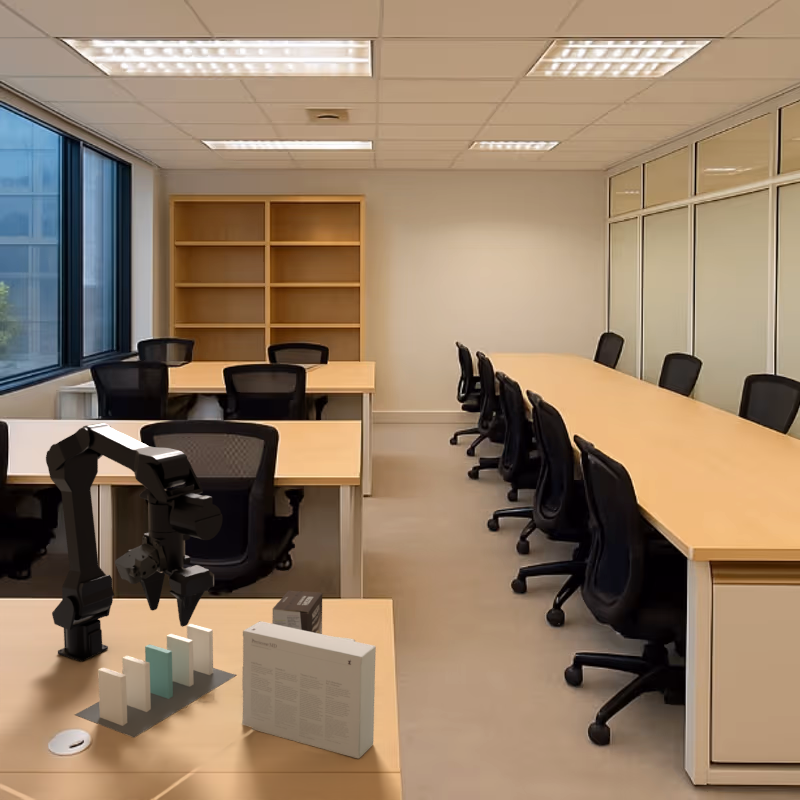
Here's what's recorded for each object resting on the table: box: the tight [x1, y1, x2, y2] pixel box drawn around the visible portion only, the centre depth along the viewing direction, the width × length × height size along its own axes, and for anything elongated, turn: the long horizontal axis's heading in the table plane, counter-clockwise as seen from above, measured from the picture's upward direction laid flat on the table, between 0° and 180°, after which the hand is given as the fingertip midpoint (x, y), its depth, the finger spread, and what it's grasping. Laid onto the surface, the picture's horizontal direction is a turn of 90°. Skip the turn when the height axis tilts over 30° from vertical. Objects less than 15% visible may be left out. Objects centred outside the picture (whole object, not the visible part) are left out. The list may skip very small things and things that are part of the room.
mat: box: [74, 667, 237, 738], centre depth 149 cm, size 13×24×1 cm, turn 151°
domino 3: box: [166, 633, 194, 687], centre depth 152 cm, size 5×1×8 cm, turn 61°
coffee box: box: [271, 590, 323, 634], centre depth 150 cm, size 9×6×16 cm
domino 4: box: [186, 623, 214, 675], centre depth 156 cm, size 5×1×8 cm, turn 61°
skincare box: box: [241, 621, 377, 759], centre depth 136 cm, size 21×5×16 cm, turn 65°
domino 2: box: [121, 655, 151, 712], centre depth 144 cm, size 5×1×8 cm, turn 61°
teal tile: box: [144, 644, 173, 699], centre depth 148 cm, size 5×1×8 cm, turn 61°
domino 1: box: [97, 667, 127, 726], centre depth 139 cm, size 5×1×8 cm, turn 61°
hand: (168, 617), depth 149 cm, fingers open, 9 cm apart
